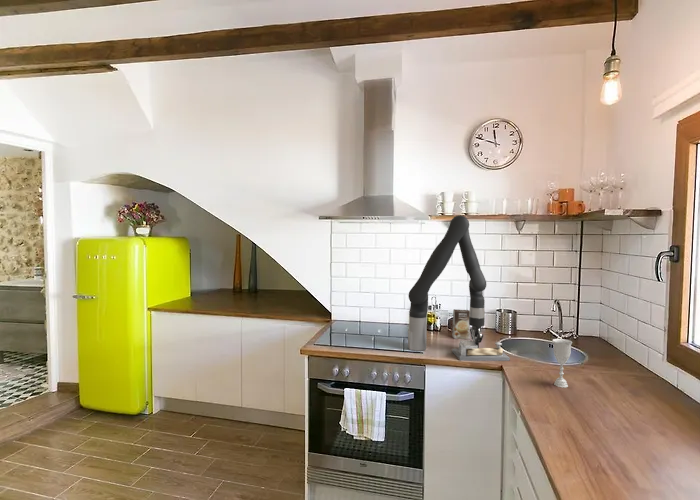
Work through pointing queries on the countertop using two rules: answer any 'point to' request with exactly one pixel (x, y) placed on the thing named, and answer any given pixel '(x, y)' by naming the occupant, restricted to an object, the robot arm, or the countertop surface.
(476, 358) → the hinge plate
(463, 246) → the robot arm
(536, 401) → the countertop surface
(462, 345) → the keeper
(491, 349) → the link
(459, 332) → the coffee box
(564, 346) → the chalice
